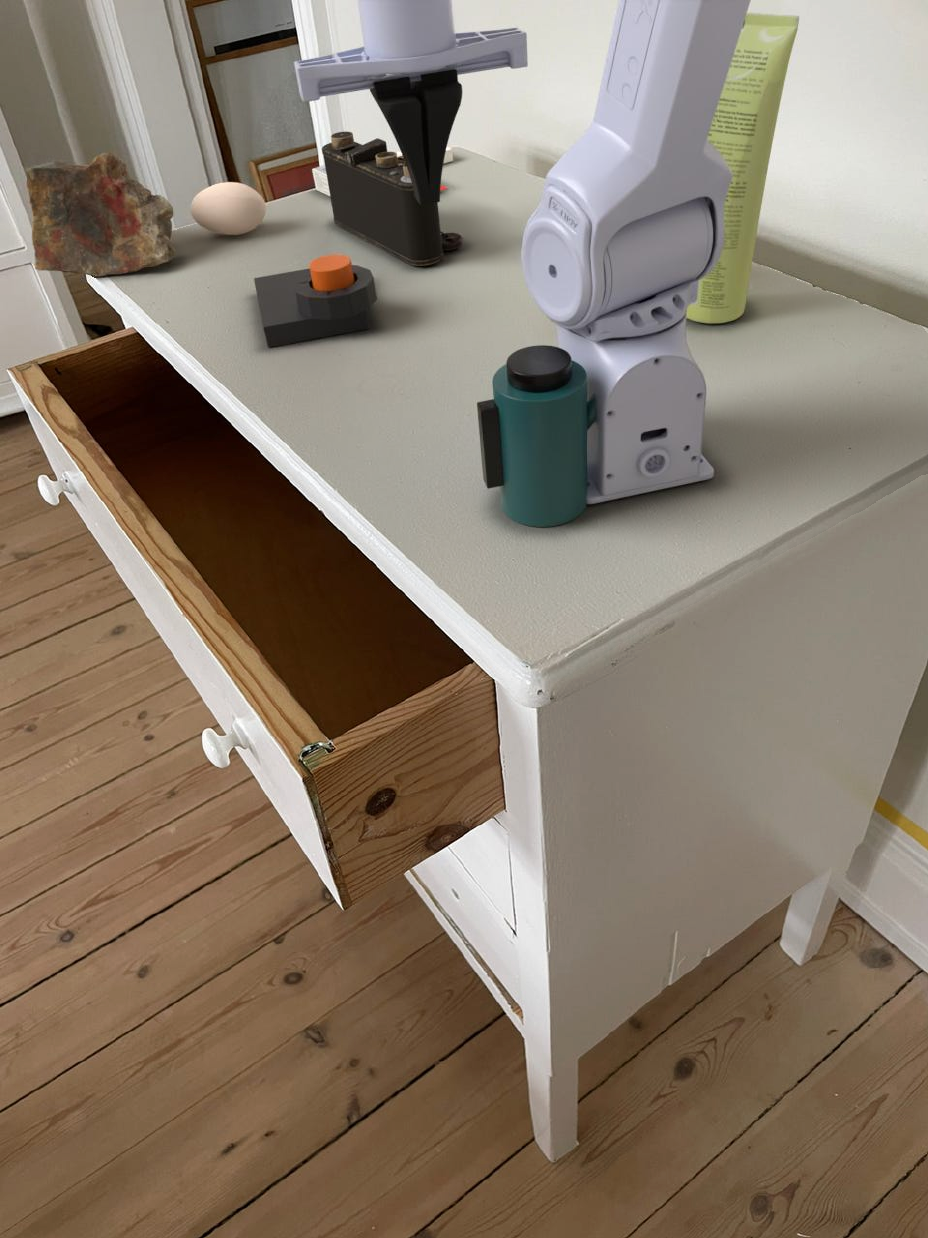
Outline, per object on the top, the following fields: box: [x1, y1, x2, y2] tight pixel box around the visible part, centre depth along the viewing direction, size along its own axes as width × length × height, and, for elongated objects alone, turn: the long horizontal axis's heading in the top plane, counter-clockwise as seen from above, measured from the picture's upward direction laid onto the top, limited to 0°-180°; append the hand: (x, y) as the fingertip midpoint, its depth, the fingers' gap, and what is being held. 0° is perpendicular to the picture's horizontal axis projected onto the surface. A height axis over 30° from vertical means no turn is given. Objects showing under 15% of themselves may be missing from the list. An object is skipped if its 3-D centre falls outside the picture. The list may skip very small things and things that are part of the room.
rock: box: [26, 151, 176, 277], centre depth 89 cm, size 12×12×10 cm
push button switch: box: [253, 264, 378, 348], centre depth 78 cm, size 11×9×4 cm
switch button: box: [308, 254, 354, 291], centre depth 74 cm, size 3×3×2 cm
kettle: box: [476, 344, 597, 528], centre depth 54 cm, size 5×8×9 cm, turn 103°
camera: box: [321, 131, 464, 267], centre depth 87 cm, size 16×7×8 cm, turn 34°
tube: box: [686, 12, 800, 324], centre depth 66 cm, size 6×5×20 cm
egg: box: [190, 181, 267, 236], centre depth 93 cm, size 5×5×7 cm
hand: (427, 199), depth 66 cm, fingers closed
